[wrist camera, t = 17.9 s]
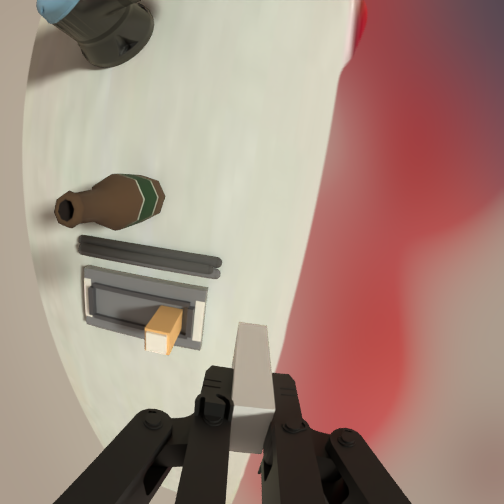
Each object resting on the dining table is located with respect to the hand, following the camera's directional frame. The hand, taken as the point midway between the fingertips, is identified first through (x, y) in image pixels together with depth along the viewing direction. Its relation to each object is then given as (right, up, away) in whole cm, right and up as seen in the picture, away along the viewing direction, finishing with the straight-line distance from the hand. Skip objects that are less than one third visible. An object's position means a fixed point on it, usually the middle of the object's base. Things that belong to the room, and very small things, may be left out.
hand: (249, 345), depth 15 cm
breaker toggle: (-14, -7, +34) cm, 38 cm away
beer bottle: (-18, +14, +32) cm, 40 cm away
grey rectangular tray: (-20, -5, +36) cm, 42 cm away
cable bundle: (-19, +5, +34) cm, 39 cm away
